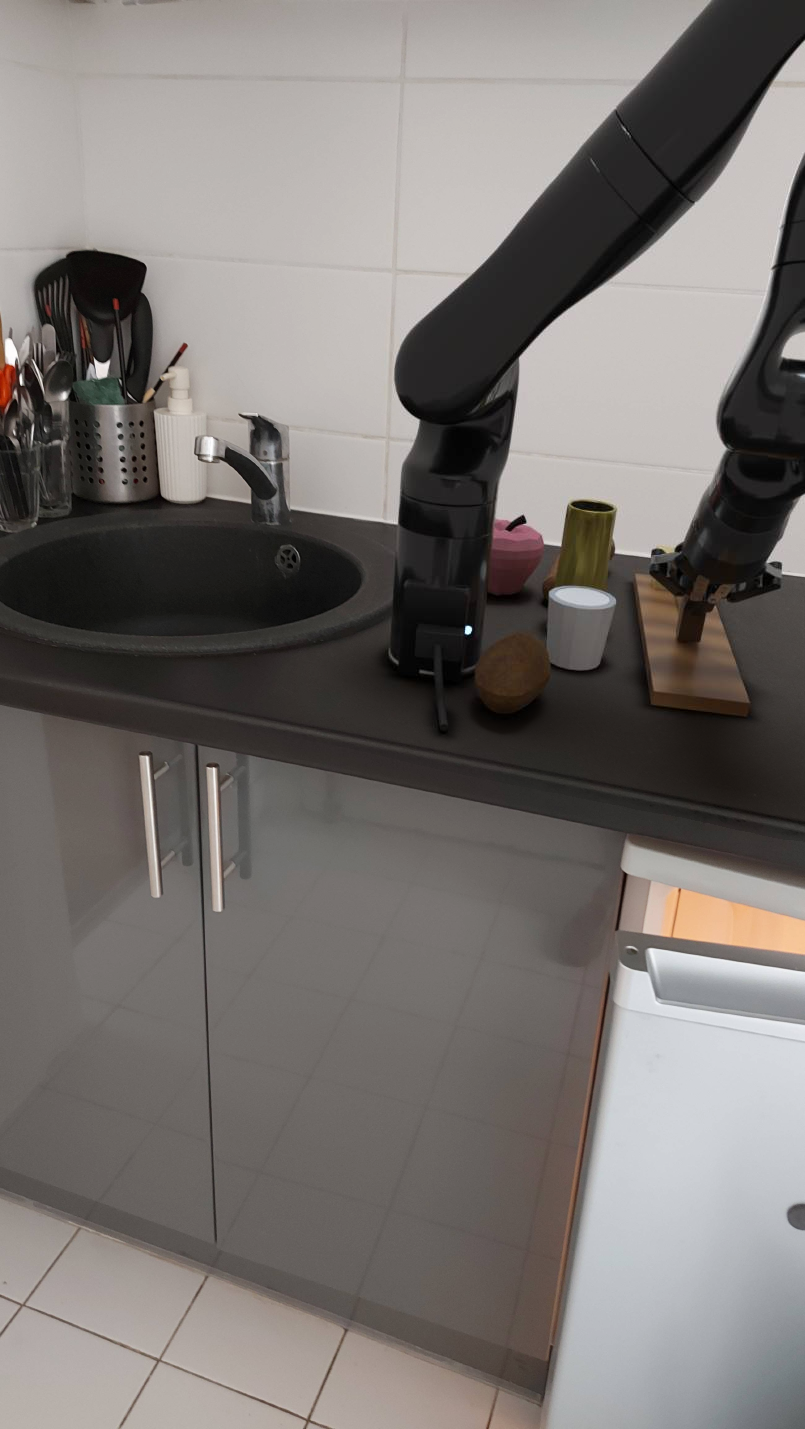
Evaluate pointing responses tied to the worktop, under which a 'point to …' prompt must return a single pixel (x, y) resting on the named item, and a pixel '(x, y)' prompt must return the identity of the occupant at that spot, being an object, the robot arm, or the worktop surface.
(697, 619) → the dark brown upright post
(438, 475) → the robot arm
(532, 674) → the potato
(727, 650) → the cutting board
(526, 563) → the apple
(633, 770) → the worktop surface
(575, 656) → the white cup
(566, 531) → the vase
